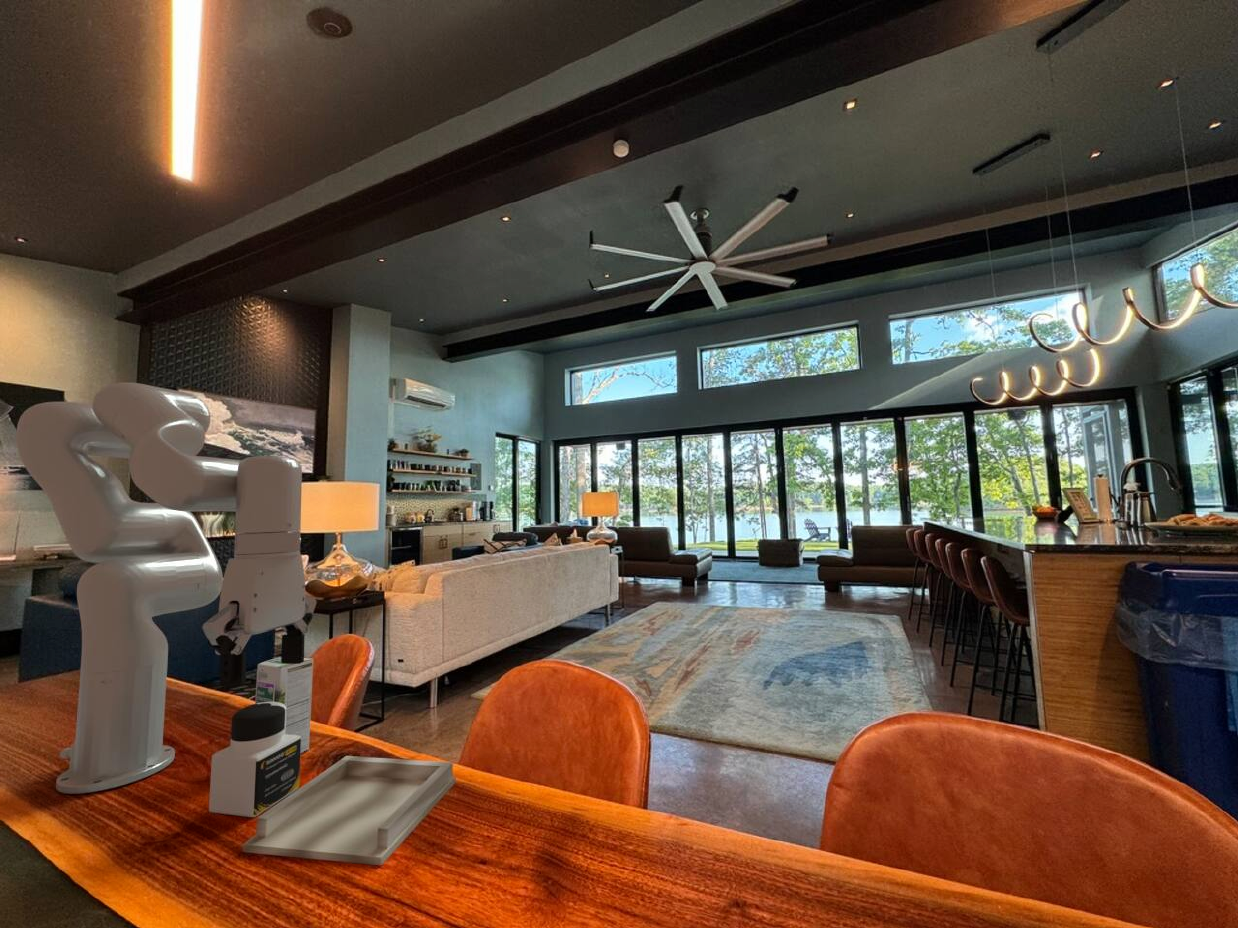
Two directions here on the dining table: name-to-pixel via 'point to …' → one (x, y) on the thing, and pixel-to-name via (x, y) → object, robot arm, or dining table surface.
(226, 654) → the robot arm
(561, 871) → the dining table surface
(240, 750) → the medicine bottle
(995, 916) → the dining table surface
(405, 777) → the bottle stand
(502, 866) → the dining table surface
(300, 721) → the syrup box
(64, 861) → the dining table surface
